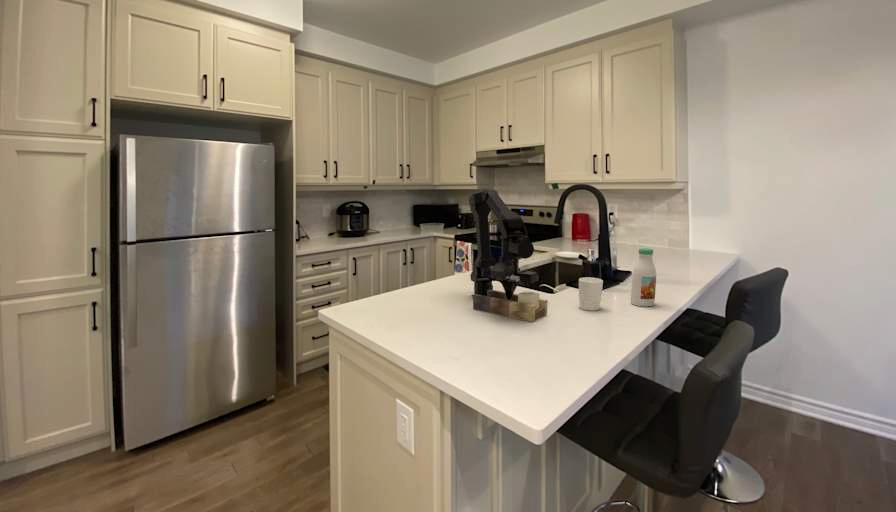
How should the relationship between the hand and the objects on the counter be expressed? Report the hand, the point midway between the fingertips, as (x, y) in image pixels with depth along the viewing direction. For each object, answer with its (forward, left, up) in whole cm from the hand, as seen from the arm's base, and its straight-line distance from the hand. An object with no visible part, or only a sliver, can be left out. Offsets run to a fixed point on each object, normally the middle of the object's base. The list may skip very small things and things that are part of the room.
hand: (509, 299), depth 142 cm
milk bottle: (+33, +37, -5) cm, 50 cm away
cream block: (+7, 0, -2) cm, 8 cm away
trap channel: (0, 0, -4) cm, 4 cm away
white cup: (+20, +21, -5) cm, 29 cm away
